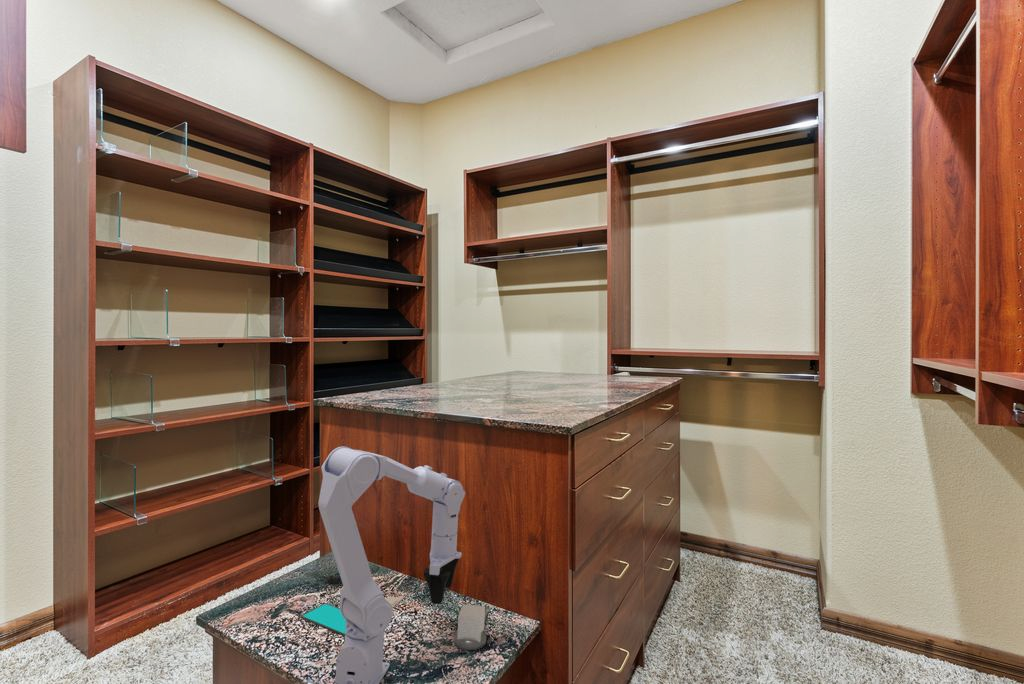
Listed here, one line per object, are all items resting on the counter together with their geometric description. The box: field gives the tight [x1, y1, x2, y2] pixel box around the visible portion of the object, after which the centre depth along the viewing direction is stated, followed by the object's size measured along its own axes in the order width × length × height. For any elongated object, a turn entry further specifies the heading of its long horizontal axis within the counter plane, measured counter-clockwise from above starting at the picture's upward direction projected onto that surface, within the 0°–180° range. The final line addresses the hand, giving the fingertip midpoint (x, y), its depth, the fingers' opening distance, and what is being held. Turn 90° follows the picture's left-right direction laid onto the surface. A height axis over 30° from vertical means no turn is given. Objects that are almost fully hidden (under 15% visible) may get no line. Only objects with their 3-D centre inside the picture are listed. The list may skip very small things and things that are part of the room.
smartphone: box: [299, 602, 346, 638], centre depth 110 cm, size 7×1×15 cm
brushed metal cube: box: [457, 604, 486, 642], centre depth 104 cm, size 5×5×5 cm
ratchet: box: [453, 605, 489, 651], centre depth 108 cm, size 16×7×4 cm, turn 174°
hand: (441, 594), depth 105 cm, fingers open, 7 cm apart
